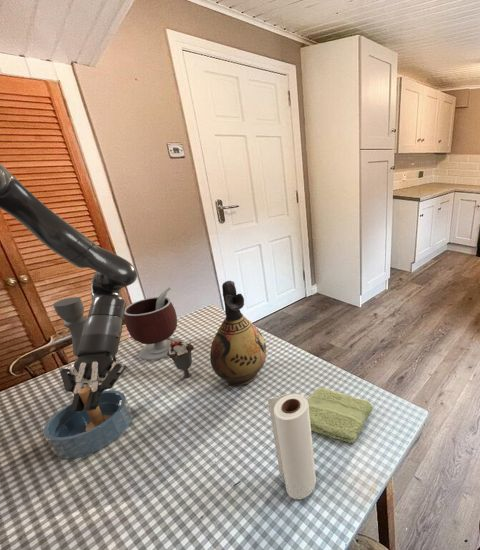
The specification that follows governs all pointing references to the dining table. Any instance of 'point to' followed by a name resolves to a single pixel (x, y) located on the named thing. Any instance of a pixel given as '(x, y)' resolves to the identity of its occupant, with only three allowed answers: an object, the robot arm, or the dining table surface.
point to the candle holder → (72, 318)
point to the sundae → (181, 356)
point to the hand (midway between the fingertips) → (84, 410)
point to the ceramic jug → (237, 343)
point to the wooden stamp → (93, 414)
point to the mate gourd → (152, 325)
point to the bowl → (72, 426)
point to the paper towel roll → (293, 443)
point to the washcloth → (337, 414)
